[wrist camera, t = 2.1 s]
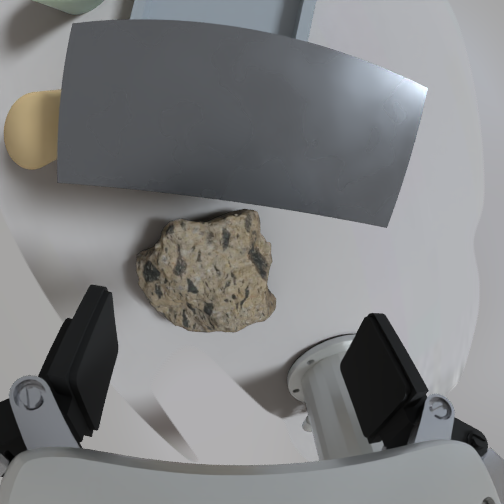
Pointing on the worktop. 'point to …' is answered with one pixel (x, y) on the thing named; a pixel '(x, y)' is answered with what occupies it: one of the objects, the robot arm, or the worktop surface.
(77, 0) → the mint green rounded cylinder
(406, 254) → the worktop surface
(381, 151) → the panel
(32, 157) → the tan rounded capsule
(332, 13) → the worktop surface
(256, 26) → the tray
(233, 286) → the rock
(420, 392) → the robot arm
